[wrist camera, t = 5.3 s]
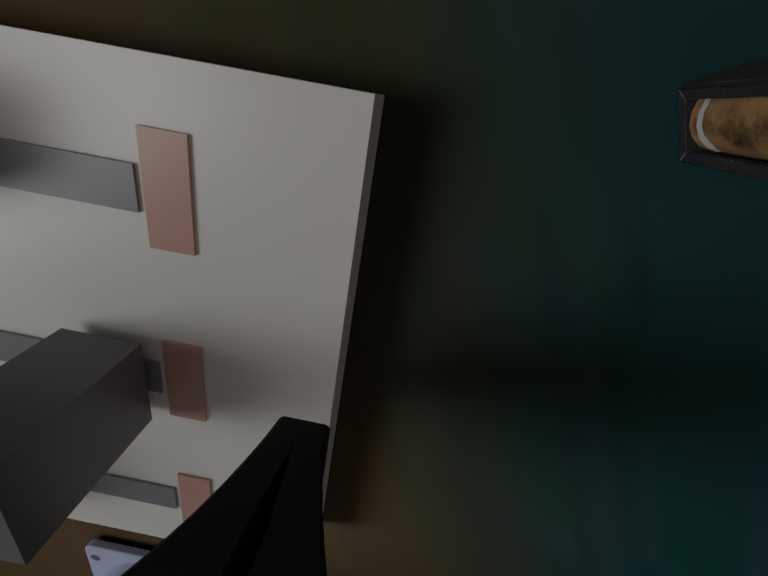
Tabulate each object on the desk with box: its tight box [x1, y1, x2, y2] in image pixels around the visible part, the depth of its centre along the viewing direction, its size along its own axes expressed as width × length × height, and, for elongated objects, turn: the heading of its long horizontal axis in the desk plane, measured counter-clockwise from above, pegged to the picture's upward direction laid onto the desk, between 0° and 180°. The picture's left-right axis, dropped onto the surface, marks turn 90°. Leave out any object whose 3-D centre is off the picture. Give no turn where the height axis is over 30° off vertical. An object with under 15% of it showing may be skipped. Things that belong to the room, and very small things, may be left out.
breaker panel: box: [0, 24, 385, 538], centre depth 13 cm, size 18×22×2 cm
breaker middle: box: [0, 328, 152, 565], centre depth 10 cm, size 3×2×4 cm
